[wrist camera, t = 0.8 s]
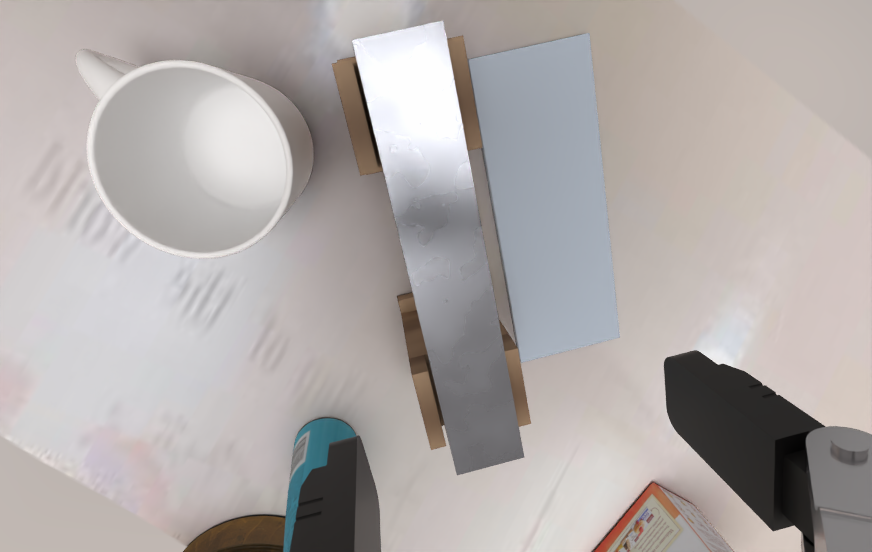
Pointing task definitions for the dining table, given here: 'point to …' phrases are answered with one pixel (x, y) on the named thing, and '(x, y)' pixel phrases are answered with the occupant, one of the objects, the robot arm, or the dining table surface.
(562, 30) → the dining table surface
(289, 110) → the mug
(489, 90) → the mat
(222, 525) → the wooden container
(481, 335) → the rail
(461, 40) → the post
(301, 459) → the tube
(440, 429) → the post
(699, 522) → the cracker box
